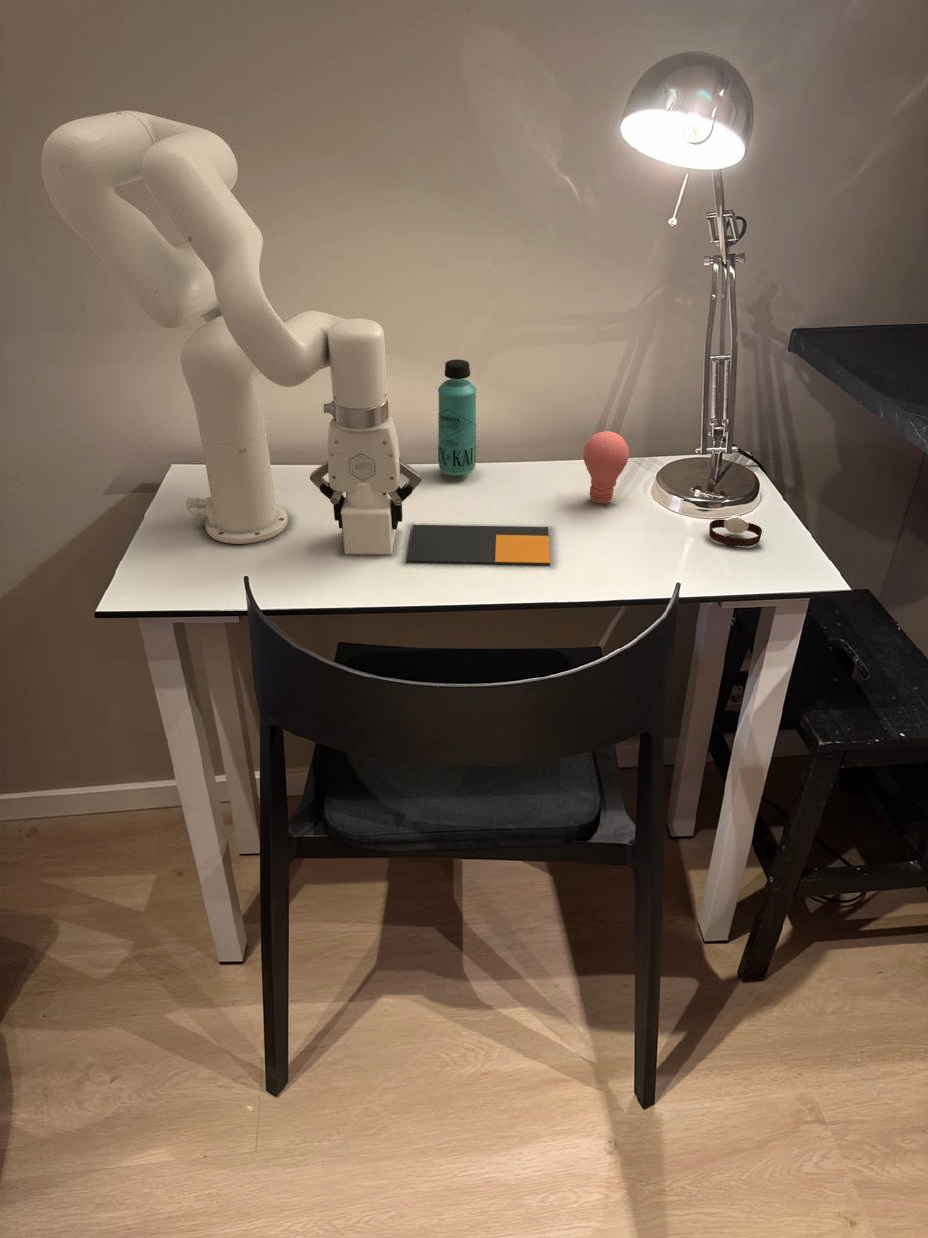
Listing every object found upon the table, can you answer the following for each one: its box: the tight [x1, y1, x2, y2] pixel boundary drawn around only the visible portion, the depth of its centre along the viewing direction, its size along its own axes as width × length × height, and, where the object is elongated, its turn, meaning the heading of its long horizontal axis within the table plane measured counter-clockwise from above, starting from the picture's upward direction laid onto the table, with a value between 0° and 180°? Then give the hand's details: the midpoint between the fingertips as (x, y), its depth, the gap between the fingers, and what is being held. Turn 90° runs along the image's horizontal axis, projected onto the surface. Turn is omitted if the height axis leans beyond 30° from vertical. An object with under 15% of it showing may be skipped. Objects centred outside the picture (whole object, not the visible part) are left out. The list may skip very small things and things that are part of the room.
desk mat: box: [405, 524, 551, 566], centre depth 144 cm, size 21×11×1 cm, turn 87°
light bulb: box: [582, 430, 630, 504], centre depth 152 cm, size 7×7×12 cm
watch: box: [708, 515, 763, 548], centre depth 144 cm, size 8×5×4 cm, turn 72°
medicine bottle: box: [341, 483, 397, 556], centre depth 141 cm, size 7×7×12 cm
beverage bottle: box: [437, 358, 478, 476], centre depth 158 cm, size 6×7×20 cm
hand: (369, 523), depth 143 cm, fingers closed on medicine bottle, 7 cm apart
